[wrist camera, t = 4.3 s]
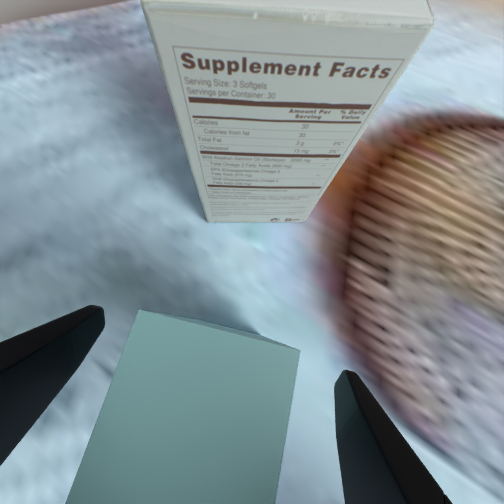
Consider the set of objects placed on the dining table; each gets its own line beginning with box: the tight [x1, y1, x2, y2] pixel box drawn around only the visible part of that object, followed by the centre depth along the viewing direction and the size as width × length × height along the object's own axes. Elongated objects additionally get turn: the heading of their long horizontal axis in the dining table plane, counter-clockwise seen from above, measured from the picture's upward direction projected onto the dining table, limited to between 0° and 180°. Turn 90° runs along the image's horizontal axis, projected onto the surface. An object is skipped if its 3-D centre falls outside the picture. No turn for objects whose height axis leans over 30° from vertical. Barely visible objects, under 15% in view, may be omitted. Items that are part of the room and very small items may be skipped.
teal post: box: [65, 309, 300, 504], centre depth 10 cm, size 4×4×10 cm
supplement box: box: [141, 0, 435, 223], centre depth 13 cm, size 7×7×13 cm
